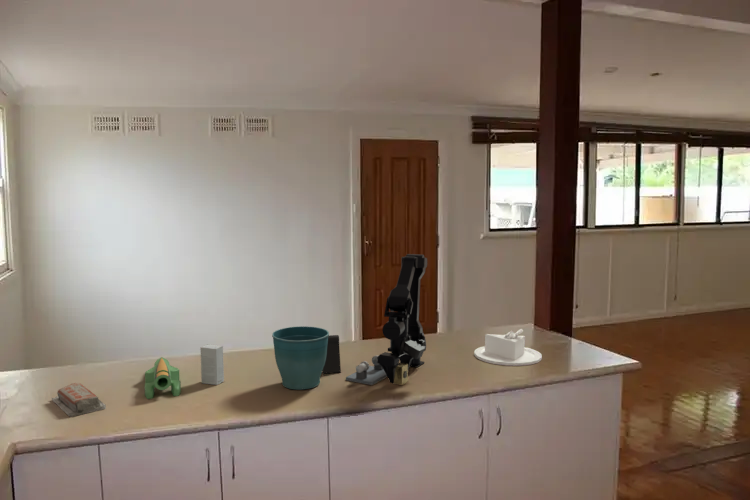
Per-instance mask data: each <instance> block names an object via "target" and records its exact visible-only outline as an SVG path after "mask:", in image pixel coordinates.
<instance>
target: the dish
mask: <svg viewBox="0 0 750 500" xmlns="http://www.w3.org/2000/svg"><path fill="white" fill-rule="evenodd" d="M523 332H524V330H523V328H520V329H518V330H517V331H516V332H514V331H513V330H510V331H508V332H507V333H505V334H492V333H490V334H489V333H484V346H479V347H478V348H476V349H474V352H473V353H474V354H473V355H474V357H475V358H476V359H478V360H480V361H482V362H485V363H488V364H492V365H501V366H511V367H513V366H514V367H516V366H517V367H520V366H521V367H522V366H531V365H534V364H538V363H540V362H541V361H542V355H543V354H542V353H541V352H539V351H538V350H535V349H533V348H530V347H525V346H526V345H525V343H526V342H525V341H526V336H525V335H520V334H522V333H523Z"/></svg>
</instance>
